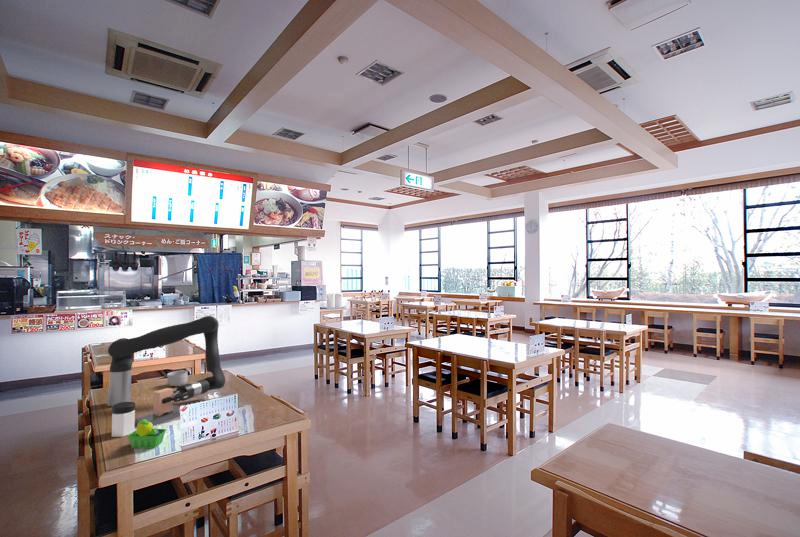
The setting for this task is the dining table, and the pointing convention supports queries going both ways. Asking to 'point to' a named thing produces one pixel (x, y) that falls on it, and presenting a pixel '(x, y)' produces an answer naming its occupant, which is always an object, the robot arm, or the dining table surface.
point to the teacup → (177, 378)
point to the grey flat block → (160, 419)
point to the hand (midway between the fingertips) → (158, 400)
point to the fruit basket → (146, 435)
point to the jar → (123, 419)
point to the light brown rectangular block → (157, 402)
